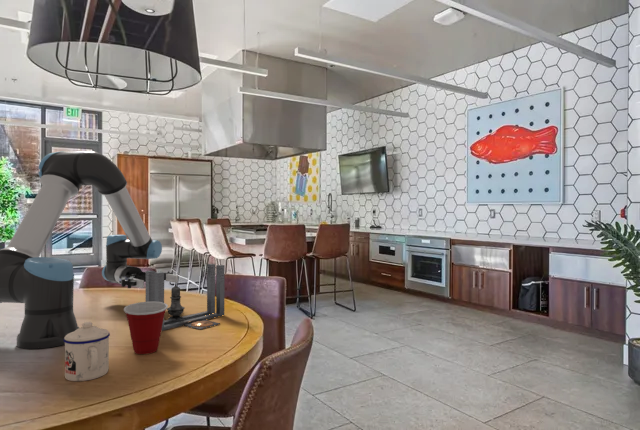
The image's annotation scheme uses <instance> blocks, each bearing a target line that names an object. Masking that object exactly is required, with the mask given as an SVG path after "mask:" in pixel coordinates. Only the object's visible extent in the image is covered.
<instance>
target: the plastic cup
mask: <svg viewBox="0 0 640 430" xmlns="http://www.w3.org/2000/svg"><path fill="white" fill-rule="evenodd" d="M167 308H169V305H168V303H165V302H164V303H162V302H154V301H153V302H146V301H141V302H140V301H139V302H136V303H135V302H134V303H131V304H128V305H126V306H124V308H123V312H124V313H125V316H126V319H127V322H128V327H129V335H130V339H131V342H132V348H133V349H132V350H133V351H134V354H137V355H149V354H152V353H155V352H156V351H158V349H159V345H160V340H161V339H160V338H161V335H162V331H161V330H162V324H163V318H164V319H165V314H166V311H167Z"/></svg>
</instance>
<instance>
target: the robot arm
mask: <svg viewBox="0 0 640 430" xmlns="http://www.w3.org/2000/svg"><path fill="white" fill-rule="evenodd" d="M38 170H39V171H38V175H39V182H40V184H41V187H40V189H39V191H38V193H37V194H36V195H35V198H34V199H33V201H32V203H31V205H30V207H29V208H28V210H27V211H26V214H25V215H24V217H23V218H22V220H21V222H20V224H19V225H18V227H17V229H16V231H15V233H14V234H13V236H12V237H11V239H10V241H9V243H8V244H7V246H6V247H4V248H1V249H0V304H2V303H9V304H12V303H13V304H24V315H23V316H24V317H23V321H22V323H21V325H20V330H19V333H18V334H17V336H16V347H17V348H20V349H25V350H26V349H27V350H28V349H29V350H30V349H31V350H35V349H36V350H38V349H47V348H54V347H59V346H63V345H64V346H65V342H64V337H65V336H66V335H67V334H69V333H71V332H74V331H75V330H77V329H78V328H80V327H79V325H78V322H77V318H76V315H75V312H74V292H75V291H74V288H75V287H74V285H75V284H74V282H75V281H74V280H75V273H74V265H73V263H72V262H71V261H70V260H68V259H65V258H61V257H53V256H50V257H48V256H41V254H42V253H43V250H44V248H45V246H46V244H47V243H48V240H49V239H50V237H51V234H52V232H53V231H54V229H55V227H56V225H57V223H58V221H59V219H60V217H61V215H62V213H63V212H64V209H65V208H66V206H67V204H68V202H69V201H70V198H71V197H76V196H77V195H78V194H79V191H80V190H81V187H83V186H93V187H94V188H95V189H96V190H97V191H98V192H99V194H100V195H102V196H104V197H105V199H106V202H108V205H109V206H110V208H111V210H112V212H113V213H114V216H115V218H116V219H117V221H118V222H119V224H120V227H121V228H122V230H123V232H124V234H109V235H107V237H106V242H105V243H106V244H105V251H106V253H105V254H106V256H105V257H106V260H105V261H106V262H105V265H104V267H103V268H102V270H101V276H102V278H103V279H104V280H106V281H108V282H109V283H112V284H113V283H114V284H119V285H121V287H123V288H125V287H127V289H131V288H134V287H135V288H139V289H145V283H146V271H143V270H142V268H140V267H138V266H132V265H127V264H128V259H135V260H136V259H138V260H139V259H140V260H154V259H155V260H156V259H158V258H159V257H160V256H161V254H162V251H163V246H162V243H161V241H160V240H156V239H152V236H151V235H150V234H149V231H148V229H147V227H146V224H145V223H144V221H143V219H142V217H141V214H140V213H139V210H138V208H137V206H136V205H135V203H134V201H133V199H132V197H131V194H130V192H129V190H128V188H127V185H128V181H127V179H126V178H125V176H124V174H123V172H122V171H121V169H120V168H119V167H118V166H117V164H115V163H114V162H113V161H112V160H111V159H110V158H108V156H106V155H103V154H102V153H100V152H97V151H93V150H87V151H63V150H61V151H55V152H50V153H47V154H45V155H44V156H43V157H42V159H41V160H40V162H39V165H38ZM164 281H166V282H171V283H175V284H177V283H179V282H178V281H179V276H178V274H174V273H173V272H170V271H167V272H164Z"/></svg>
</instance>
